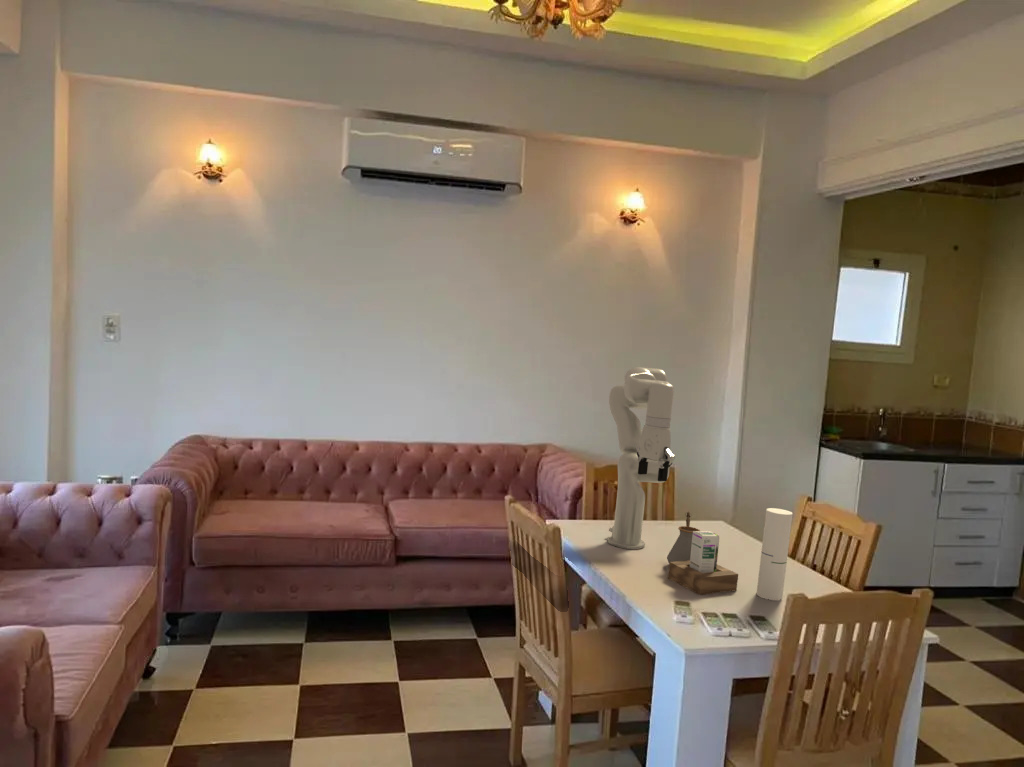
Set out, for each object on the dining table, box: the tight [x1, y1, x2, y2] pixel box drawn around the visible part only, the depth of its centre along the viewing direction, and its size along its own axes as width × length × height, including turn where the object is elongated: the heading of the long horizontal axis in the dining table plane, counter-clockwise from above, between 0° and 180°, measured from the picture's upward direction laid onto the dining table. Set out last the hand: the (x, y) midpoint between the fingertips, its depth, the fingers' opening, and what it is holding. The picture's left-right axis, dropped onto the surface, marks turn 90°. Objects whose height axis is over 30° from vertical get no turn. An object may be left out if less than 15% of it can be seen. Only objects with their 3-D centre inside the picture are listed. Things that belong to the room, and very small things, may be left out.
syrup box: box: [690, 530, 720, 573], centre depth 224 cm, size 6×6×14 cm
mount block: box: [667, 560, 739, 596], centre depth 224 cm, size 14×14×5 cm
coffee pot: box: [666, 511, 701, 565], centre depth 242 cm, size 21×12×15 cm, turn 168°
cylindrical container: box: [756, 507, 794, 601], centre depth 218 cm, size 7×7×25 cm
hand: (652, 477), depth 234 cm, fingers open, 9 cm apart
